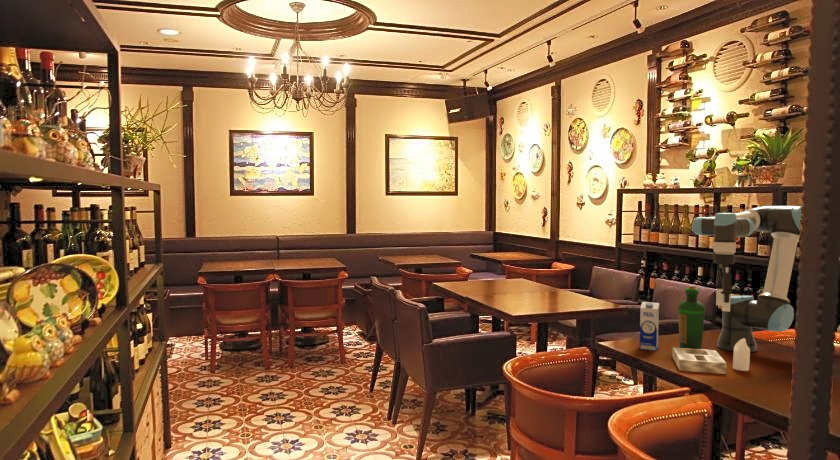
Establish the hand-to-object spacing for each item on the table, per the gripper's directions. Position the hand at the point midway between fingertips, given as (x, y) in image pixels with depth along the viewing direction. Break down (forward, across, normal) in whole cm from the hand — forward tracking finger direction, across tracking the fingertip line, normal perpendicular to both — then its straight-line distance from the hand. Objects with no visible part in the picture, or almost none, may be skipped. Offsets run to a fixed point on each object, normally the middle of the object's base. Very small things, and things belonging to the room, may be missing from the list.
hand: (722, 308), depth 228 cm
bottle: (+23, -25, -8) cm, 35 cm away
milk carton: (+23, -22, -25) cm, 41 cm away
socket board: (+23, 0, -8) cm, 24 cm away
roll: (+23, 0, +7) cm, 24 cm away
